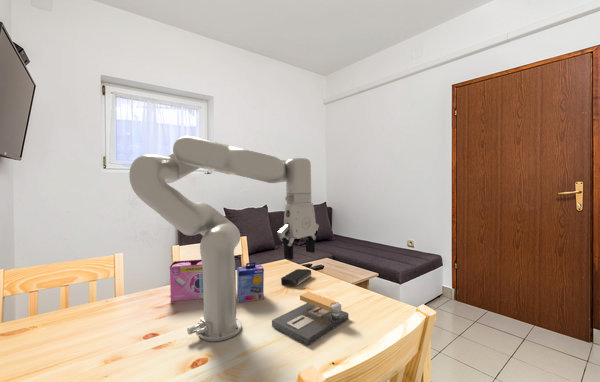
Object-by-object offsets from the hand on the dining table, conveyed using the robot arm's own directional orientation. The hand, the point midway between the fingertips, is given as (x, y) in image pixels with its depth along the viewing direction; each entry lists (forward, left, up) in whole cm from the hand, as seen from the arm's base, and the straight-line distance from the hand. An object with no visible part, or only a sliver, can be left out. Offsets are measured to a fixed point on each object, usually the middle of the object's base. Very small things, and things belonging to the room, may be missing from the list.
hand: (300, 255), depth 83 cm
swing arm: (+10, 0, -18) cm, 21 cm away
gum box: (-8, +46, -23) cm, 52 cm away
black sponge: (+29, +29, -23) cm, 47 cm away
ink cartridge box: (+3, +29, -23) cm, 37 cm away
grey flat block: (+5, 0, -23) cm, 23 cm away
